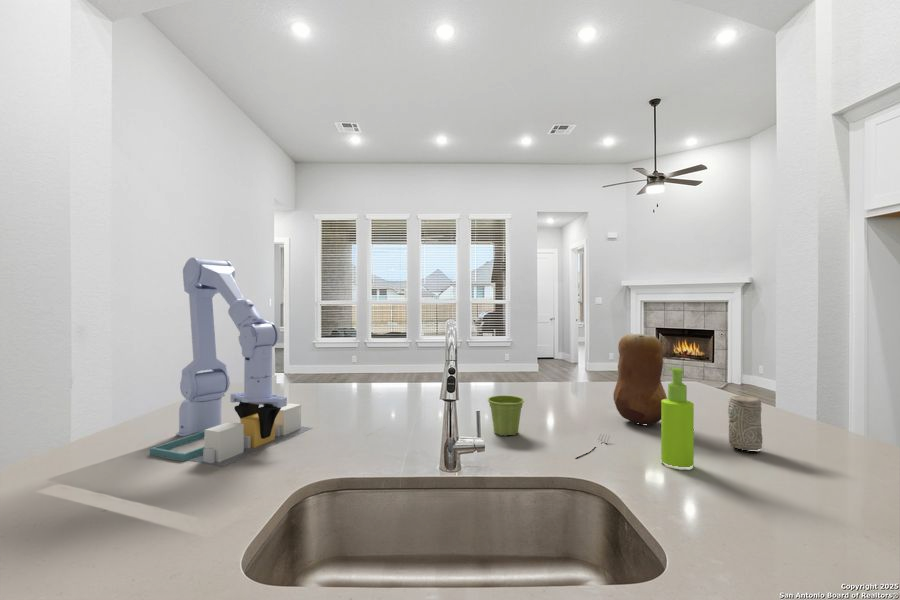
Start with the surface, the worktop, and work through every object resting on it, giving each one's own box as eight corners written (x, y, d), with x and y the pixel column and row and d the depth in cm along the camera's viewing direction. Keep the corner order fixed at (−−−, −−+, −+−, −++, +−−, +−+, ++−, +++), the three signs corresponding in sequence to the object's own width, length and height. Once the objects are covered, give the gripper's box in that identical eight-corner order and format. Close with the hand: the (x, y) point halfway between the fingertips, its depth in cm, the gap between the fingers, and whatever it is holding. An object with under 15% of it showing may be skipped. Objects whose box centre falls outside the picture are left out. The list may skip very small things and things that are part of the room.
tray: (149, 461, 88) (149, 448, 88) (208, 441, 101) (209, 429, 101) (184, 468, 85) (184, 454, 85) (240, 446, 98) (241, 434, 98)
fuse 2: (270, 433, 102) (270, 408, 102) (288, 426, 108) (288, 403, 108) (283, 435, 101) (284, 410, 101) (300, 428, 107) (300, 404, 107)
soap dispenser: (689, 460, 90) (689, 366, 90) (696, 472, 84) (696, 371, 84) (658, 456, 92) (658, 364, 92) (663, 468, 86) (663, 369, 86)
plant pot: (482, 436, 106) (482, 401, 106) (493, 425, 115) (493, 393, 115) (519, 440, 103) (519, 404, 103) (527, 429, 111) (527, 396, 111)
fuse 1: (204, 459, 86) (204, 429, 86) (229, 449, 91) (229, 421, 91) (219, 462, 84) (219, 431, 84) (243, 452, 90) (243, 423, 90)
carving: (764, 449, 97) (764, 397, 97) (759, 458, 92) (759, 402, 92) (731, 443, 102) (731, 393, 102) (725, 451, 96) (725, 398, 96)
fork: (569, 459, 92) (569, 449, 92) (600, 441, 104) (600, 433, 104) (580, 462, 90) (580, 452, 90) (610, 443, 102) (610, 435, 102)
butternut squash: (670, 421, 120) (670, 333, 120) (664, 433, 109) (665, 336, 109) (618, 414, 127) (618, 331, 127) (608, 425, 116) (608, 333, 116)
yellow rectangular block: (240, 445, 94) (240, 418, 94) (261, 437, 100) (261, 411, 100) (254, 447, 93) (254, 420, 93) (274, 439, 98) (274, 413, 98)
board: (188, 467, 85) (188, 448, 85) (284, 429, 110) (284, 414, 110) (222, 474, 82) (222, 453, 82) (312, 433, 107) (312, 418, 107)
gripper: (219, 377, 95) (218, 437, 95) (270, 381, 90) (270, 445, 90) (244, 372, 102) (244, 428, 101) (293, 376, 97) (293, 435, 96)
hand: (257, 436), depth 96 cm, fingers closed on yellow rectangular block, 4 cm apart
